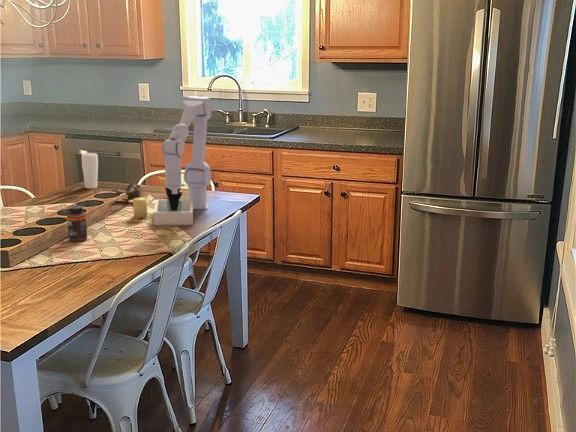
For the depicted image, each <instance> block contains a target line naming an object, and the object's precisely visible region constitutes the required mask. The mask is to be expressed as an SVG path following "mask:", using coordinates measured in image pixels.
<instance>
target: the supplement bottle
mask: <svg viewBox="0 0 576 432" xmlns="http://www.w3.org/2000/svg"><path fill="white" fill-rule="evenodd" d="M66 220H67V223H66V224H67V234H68V240H69V241H70V242H74V243H75V242H77V243H78V242H83V241H86V240H87V239H88V230H87V228H88V227H87V216H86V213H85V212H84V211H83V206H82V205H72V206H69V212H68V213H67V214H66Z"/></svg>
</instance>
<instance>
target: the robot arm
mask: <svg viewBox="0 0 576 432" xmlns="http://www.w3.org/2000/svg"><path fill="white" fill-rule="evenodd" d="M212 108H213V104H212V100H211V98H210V97H208V96H206V97H205V96H204V97H203V96H192V95H191V96H190V95H186V96H184V98H183V101H182V109H183V112H182V115H181V117H180V120H179V123H177V124H175V125H174V127H173V129H172V131H171V132H170V134H169V137H168V138H167V139H165V140H164V141H163V142H162V145H161V153H162V155H163V160H164V164H165V165H164V167H165V168H164V171H165V172H164V173H165V174H164V175H165V179H164V181H165V183H164V190H165V193H166V196H167V198H169V202H170V207H171V211H177V209H178V204H179V199H180V197H181V198H182V195H183V191H182V192H181V189H182V187H185V184H186V186H187V187H188V188H187V190H188V193H187V194H188V196H187V200H193V210H208V202H207V197H208V196H207V188H208V186H209V185H210V183H211V181H212V173H211V171H212V169H211V166H210V165H209V164H208V163H207V162H206V161H205V156H206V144H207V133H208V132H207V128H208V120H210V119H212V111H213V110H212ZM193 121H194V125H193V127H194V128H193V139H192V140H193V141H192V152H191V161H189V162H188V163H186V165H185V168H184V172H183V181H184V183H182V155H183V154H184V151H185V145H186V143H185V142H186V140H187V138H188V136H189V133H190V130H189V127H190V126H191V125H192V122H193Z"/></svg>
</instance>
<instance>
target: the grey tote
mask: <svg viewBox="0 0 576 432" xmlns="http://www.w3.org/2000/svg"><path fill="white" fill-rule="evenodd" d="M181 200H182V211H181V212H167V199H155V201H154V202H155V203H154V209H153V226H154V225H156V226H157V225H158V227H159V226H194V209H193V200H188V199H181Z"/></svg>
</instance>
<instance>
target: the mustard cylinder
mask: <svg viewBox="0 0 576 432" xmlns="http://www.w3.org/2000/svg"><path fill="white" fill-rule="evenodd" d="M132 202H133V203H132V204H133V207H132V209H133V218H134V217H135V218H145V219H147V218H148V199H147V198H146V197H141V198H134V199H133V200H132ZM146 217H147V218H146ZM135 218H134V219H135Z"/></svg>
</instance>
